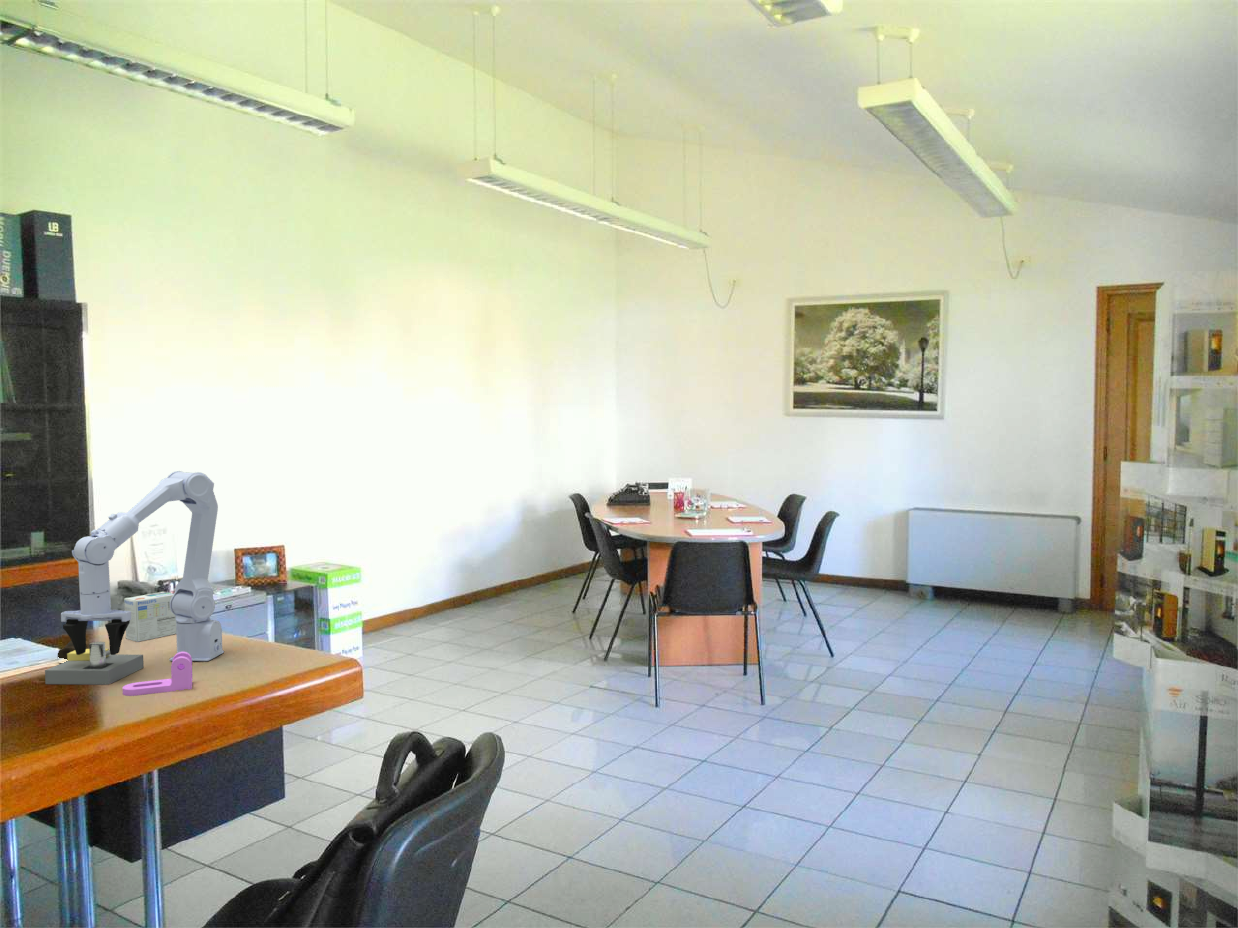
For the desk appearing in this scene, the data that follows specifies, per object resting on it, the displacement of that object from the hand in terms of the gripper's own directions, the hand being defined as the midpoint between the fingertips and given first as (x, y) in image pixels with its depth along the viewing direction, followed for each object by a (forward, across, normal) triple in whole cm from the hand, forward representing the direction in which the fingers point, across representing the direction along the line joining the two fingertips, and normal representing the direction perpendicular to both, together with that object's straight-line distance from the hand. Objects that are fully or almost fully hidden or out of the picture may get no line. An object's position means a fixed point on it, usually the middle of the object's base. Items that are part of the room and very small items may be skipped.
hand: (98, 653), depth 197 cm
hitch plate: (+6, -3, +3) cm, 7 cm away
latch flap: (+3, -6, +6) cm, 9 cm away
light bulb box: (+6, -11, +38) cm, 40 cm away
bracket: (+6, +17, -6) cm, 19 cm away
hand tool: (+6, -20, +21) cm, 30 cm away
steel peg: (+6, 0, 0) cm, 6 cm away
